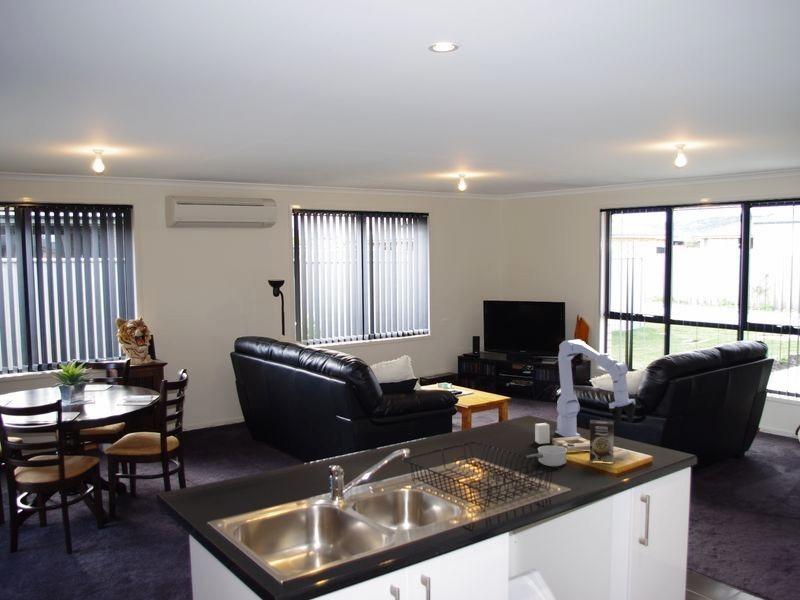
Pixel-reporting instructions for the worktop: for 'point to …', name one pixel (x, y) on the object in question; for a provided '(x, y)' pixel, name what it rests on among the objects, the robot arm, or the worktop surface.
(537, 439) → the plug
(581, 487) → the worktop surface
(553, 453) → the saucepan
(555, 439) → the socket
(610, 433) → the coffee box
